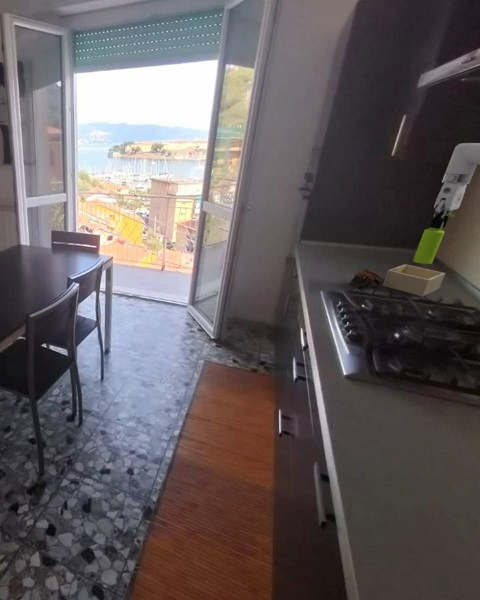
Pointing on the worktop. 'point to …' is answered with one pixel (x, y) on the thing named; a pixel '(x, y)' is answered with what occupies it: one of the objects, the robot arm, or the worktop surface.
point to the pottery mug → (365, 279)
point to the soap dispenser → (429, 244)
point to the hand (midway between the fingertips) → (437, 226)
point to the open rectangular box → (413, 279)
